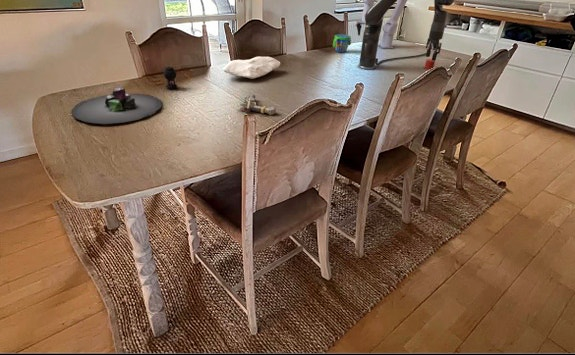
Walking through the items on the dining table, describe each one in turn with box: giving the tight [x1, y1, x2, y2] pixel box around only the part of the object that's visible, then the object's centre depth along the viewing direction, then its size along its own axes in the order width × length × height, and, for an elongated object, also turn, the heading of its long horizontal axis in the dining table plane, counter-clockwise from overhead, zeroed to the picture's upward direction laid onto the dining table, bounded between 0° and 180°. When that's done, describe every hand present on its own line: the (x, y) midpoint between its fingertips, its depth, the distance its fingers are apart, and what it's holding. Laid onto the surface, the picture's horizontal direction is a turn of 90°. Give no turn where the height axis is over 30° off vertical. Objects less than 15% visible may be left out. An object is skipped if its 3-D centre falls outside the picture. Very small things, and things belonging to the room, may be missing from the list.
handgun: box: [239, 93, 277, 116], centre depth 158 cm, size 3×18×15 cm
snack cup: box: [332, 34, 352, 53], centre depth 246 cm, size 16×10×10 cm
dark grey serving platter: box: [70, 86, 163, 125], centre depth 150 cm, size 35×35×9 cm
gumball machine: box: [161, 66, 179, 90], centre depth 173 cm, size 7×6×10 cm
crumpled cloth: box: [222, 56, 281, 80], centre depth 195 cm, size 24×35×9 cm
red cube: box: [424, 58, 436, 70], centre depth 220 cm, size 5×5×5 cm
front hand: (430, 58), depth 217 cm, fingers open, 8 cm apart
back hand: (363, 35), depth 257 cm, fingers open, 7 cm apart
